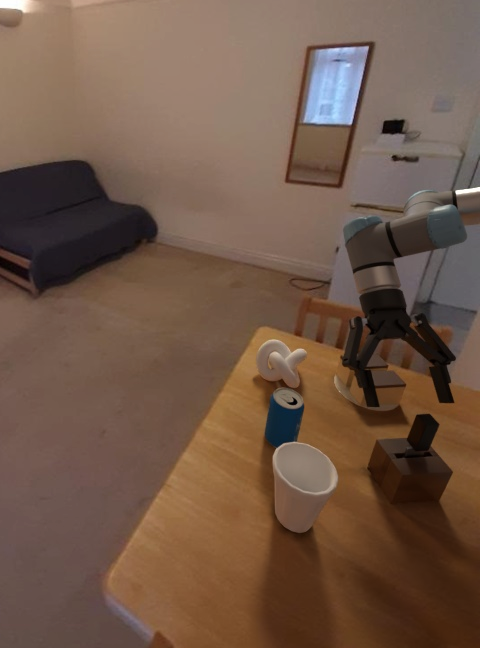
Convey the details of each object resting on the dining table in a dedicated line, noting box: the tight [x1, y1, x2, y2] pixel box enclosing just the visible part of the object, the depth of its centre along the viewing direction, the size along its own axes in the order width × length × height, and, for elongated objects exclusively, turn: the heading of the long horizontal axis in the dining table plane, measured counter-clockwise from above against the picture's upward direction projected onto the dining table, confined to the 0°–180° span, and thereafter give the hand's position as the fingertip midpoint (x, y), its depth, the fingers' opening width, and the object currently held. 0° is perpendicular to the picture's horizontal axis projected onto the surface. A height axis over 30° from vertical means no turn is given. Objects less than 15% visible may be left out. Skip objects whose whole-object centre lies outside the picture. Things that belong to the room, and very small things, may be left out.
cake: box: [335, 352, 407, 407], centre depth 96 cm, size 9×11×6 cm
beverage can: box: [264, 387, 305, 448], centre depth 84 cm, size 6×6×12 cm
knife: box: [402, 413, 440, 458], centre depth 73 cm, size 3×2×17 cm
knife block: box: [366, 437, 454, 505], centre depth 75 cm, size 9×7×8 cm
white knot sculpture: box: [255, 339, 308, 389], centre depth 102 cm, size 11×12×9 cm
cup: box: [272, 441, 339, 534], centre depth 69 cm, size 10×10×13 cm
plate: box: [333, 374, 400, 412], centre depth 98 cm, size 14×14×1 cm
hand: (410, 405), depth 73 cm, fingers open, 13 cm apart
